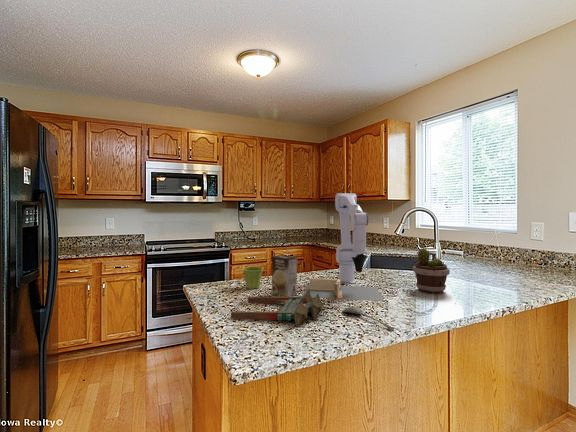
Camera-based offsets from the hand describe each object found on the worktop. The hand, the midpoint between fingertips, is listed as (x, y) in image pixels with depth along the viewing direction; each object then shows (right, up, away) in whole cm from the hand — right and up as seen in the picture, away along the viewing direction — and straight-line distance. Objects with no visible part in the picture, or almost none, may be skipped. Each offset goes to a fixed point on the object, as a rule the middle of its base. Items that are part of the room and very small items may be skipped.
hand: (358, 271), depth 137 cm
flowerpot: (+32, -9, +3) cm, 34 cm away
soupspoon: (-5, -10, -34) cm, 35 cm away
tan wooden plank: (-10, -8, -5) cm, 14 cm away
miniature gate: (-33, -10, -26) cm, 43 cm away
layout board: (-8, -9, -2) cm, 12 cm away
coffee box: (-32, -9, -4) cm, 34 cm away
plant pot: (-47, -9, +8) cm, 48 cm away
